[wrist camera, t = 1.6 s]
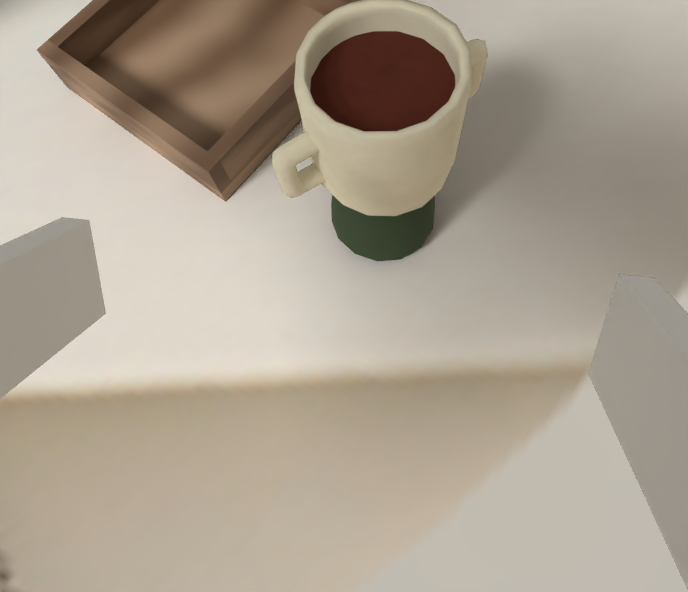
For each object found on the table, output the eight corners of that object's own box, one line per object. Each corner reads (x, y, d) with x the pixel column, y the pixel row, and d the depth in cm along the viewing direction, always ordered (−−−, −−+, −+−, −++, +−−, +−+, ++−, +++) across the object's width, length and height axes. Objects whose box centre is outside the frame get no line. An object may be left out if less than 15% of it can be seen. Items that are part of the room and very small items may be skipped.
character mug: (423, 138, 34) (445, -51, 22) (488, 218, 32) (553, 59, 20) (280, 219, 33) (217, 68, 21) (337, 309, 31) (306, 200, 18)
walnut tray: (67, 86, 38) (36, 49, 34) (214, -49, 41) (199, -94, 38) (225, 201, 34) (208, 171, 30) (375, 40, 37) (373, -2, 34)
